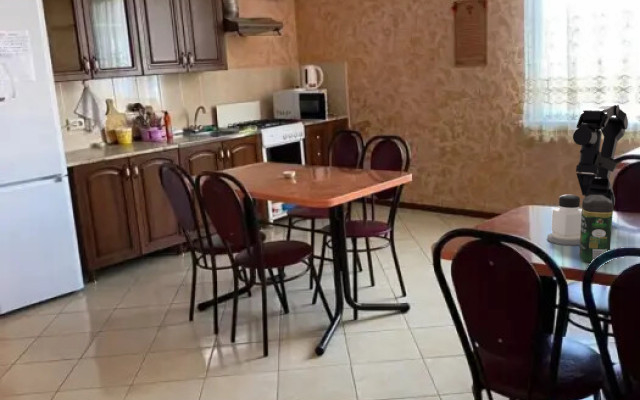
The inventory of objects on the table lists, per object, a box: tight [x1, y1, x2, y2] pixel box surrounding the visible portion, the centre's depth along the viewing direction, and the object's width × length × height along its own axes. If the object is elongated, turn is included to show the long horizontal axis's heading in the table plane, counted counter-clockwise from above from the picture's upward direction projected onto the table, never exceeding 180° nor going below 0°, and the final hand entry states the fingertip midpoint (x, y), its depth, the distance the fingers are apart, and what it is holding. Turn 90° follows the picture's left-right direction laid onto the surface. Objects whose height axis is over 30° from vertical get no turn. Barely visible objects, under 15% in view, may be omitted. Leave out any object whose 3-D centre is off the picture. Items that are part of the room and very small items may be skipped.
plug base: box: [546, 231, 580, 247], centre depth 198 cm, size 12×12×2 cm
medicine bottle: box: [551, 194, 582, 236], centre depth 197 cm, size 7×7×12 cm
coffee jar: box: [579, 195, 614, 263], centre depth 177 cm, size 10×8×19 cm
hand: (584, 195), depth 204 cm, fingers open, 9 cm apart
